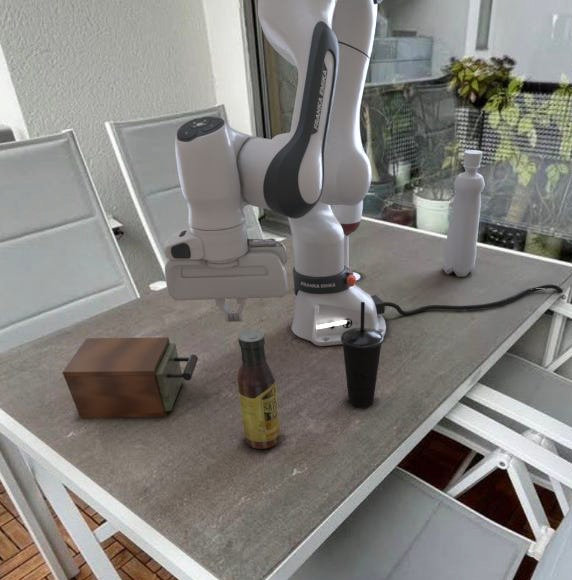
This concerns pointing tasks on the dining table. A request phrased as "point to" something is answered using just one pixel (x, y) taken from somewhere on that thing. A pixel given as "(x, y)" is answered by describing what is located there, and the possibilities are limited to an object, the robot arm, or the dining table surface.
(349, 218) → the wineglass
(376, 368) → the drinking cup
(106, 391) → the cabinet
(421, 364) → the dining table surface
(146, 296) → the dining table surface
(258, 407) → the sauce bottle
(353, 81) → the robot arm
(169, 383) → the drawer
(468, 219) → the bottle
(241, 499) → the dining table surface
